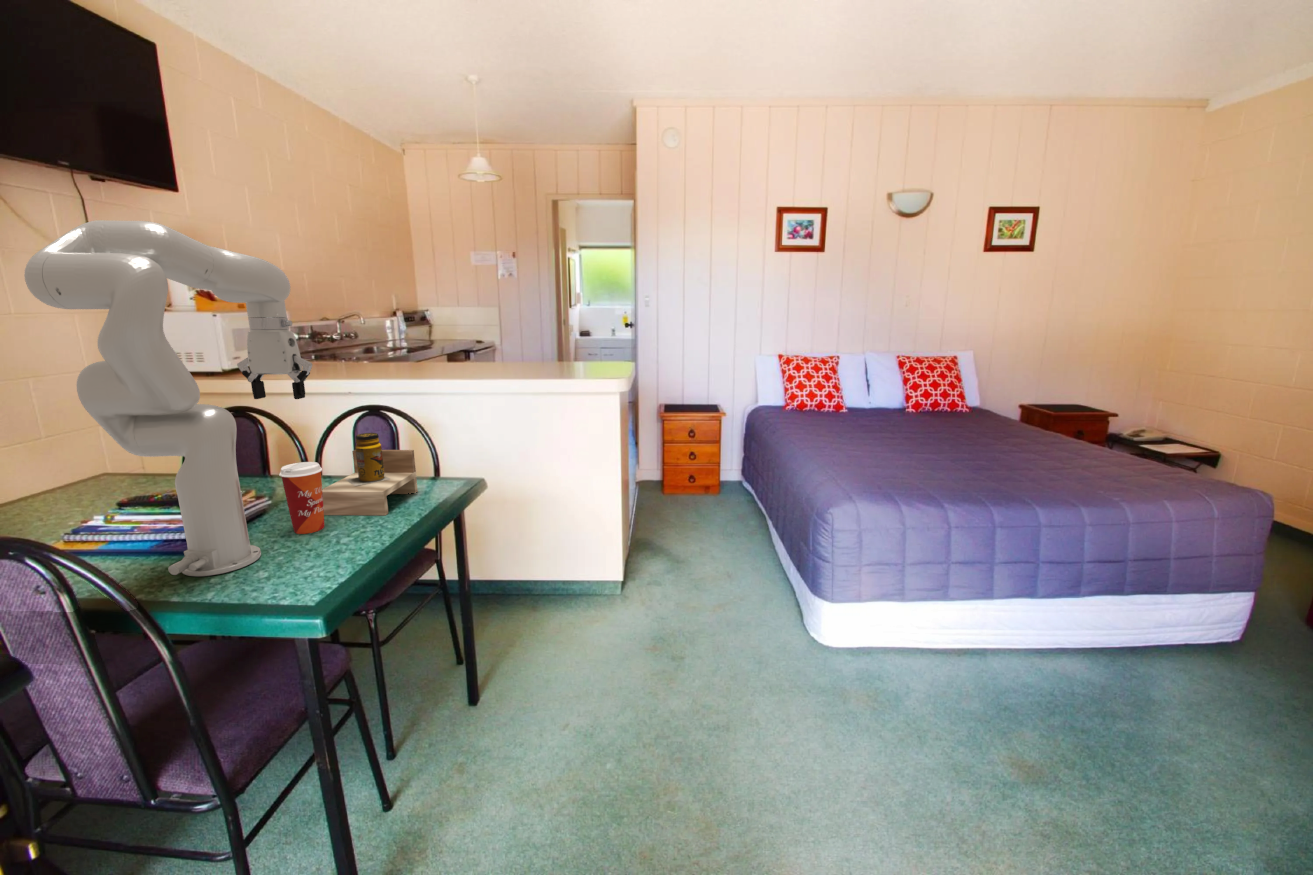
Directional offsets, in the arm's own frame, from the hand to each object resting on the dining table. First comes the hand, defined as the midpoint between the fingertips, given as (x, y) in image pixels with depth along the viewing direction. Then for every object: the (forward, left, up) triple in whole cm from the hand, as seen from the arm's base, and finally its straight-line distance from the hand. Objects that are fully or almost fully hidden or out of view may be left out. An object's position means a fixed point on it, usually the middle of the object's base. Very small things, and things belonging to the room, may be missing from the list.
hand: (279, 398), depth 135 cm
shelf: (+6, -16, -28) cm, 33 cm away
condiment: (+7, -15, -22) cm, 28 cm away
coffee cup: (-12, -11, -28) cm, 33 cm away
